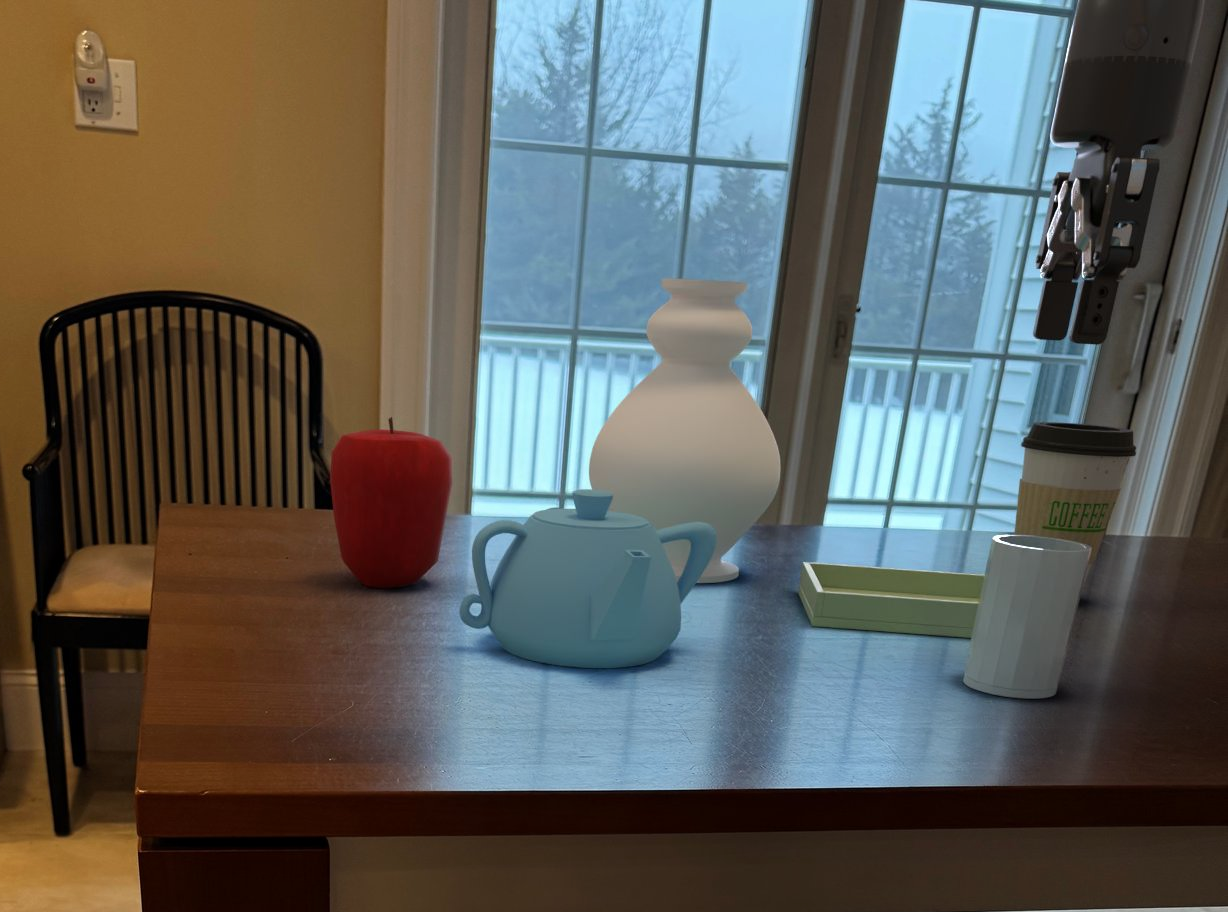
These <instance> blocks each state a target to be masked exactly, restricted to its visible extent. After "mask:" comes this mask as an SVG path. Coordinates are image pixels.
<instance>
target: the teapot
mask: <svg viewBox="0 0 1228 912" xmlns="http://www.w3.org/2000/svg"><path fill="white" fill-rule="evenodd" d="M612 498H613V494H612V493H610V492H608V491H603V490H593V489H592V488H590V489H588V488H582V489H580V488H579V489H576V490H574V491H572V500H573V504H574V508H563V507H559V506H558V507H557V506H556V507H549V508H546V509H542V510H537V511H535V512H534V513H533V514H531V515H530V516H529V517H528V518H527V520H526V521H525V522H524V524H523V523H520V522H518V521H515V520H512V519H500V520H496V521H493V522H490V523H489V524H487V525H485V526H484V527H482V528H481V529H480V530H479V531H478V533H477V534H476V536H475V538H474V539H473V543H472V546H471V547H472V549H471V563H472V567H473V574H474V579H475V583H476V587H477V590H478V594H475V593H471V594H467V595H466V596H465V597H463V599H462V601H461V603H460V606H459V616H460V620H461V621H462V623H463V624H465V625H466V626H468V627H470V628H472V629H476V630H479V629H480V630H481V629H484V628H486V627H488V629H489V630H490V632H491V633H492V635H493V636H494V637H495V639H496V640H497V641H498V643H500V645H501V646H502V648H503V649H504V650H505V651H506V652H507V653H510V654H511V655H513V656H515V657H518V658H522V659H525V660H529V661H532V662H536V663H542V664H547V665H553V666H559V667H567V668H568V667H569V668H581V669H583V668H584V669H585V668H586V669H616V668H617V669H618V668H630V667H636V666H641V665H646V664H648V663H652V662H654V661H655V660H657V659H658V658H659V657H660V656H661V655H662V654H663V653H664V652H666V650H668V648H670V646H671V645H673V643H674V642H675V641H676V639H677V638H678V636H679V634H680V632H681V626H682V608H681V607H682V603H683V602H684V600H685V599H686V598H687V597H688V595H689V594H690V592H691V591H692V590H693V588H694V587H695V585H696V584H697V583H696V582H697V581H698V579H699V578H700V576H701V575H702V573H703V572H704V570H705V569H706V567H707V565H708V563H709V561H710V559H711V557H712V555H713V552H714V549H715V545H716V539H717V535H716V531H715V529H714V528H713V526H711V525H709V524H707V523H702V522H692V523H684V524H680V525H675V526H671V527H667V528H664V529H660V530H657V531H655V530H654V528H653V526H652V525H651V523H650V522H649V521H648V520H647V519H645V518H643V517H640V516H636V515H632V514H627V513H621V512H614V511H608V508H609V506H610V504H611V501H612ZM503 534H510V535H514V536H515V537H514V538H513V539H512V541H511V543H510V544H509V546H508V547H507V549H506V551H505V552H504V554H503V556H502V557H501V559H500V561H499V563H498V565H497V567H496V569H495V572H494V574H493V576H492V579H491V582H490V581H489V576H488V571H487V565H486V548H487V546H488V542H489V541H490V540H491V539H492V538H494V537H495V536H498V535H503ZM679 539H687V540H689V541H690V543H691V549H690V554H689V557H688V560H687V563H686V565H685V568H684V570H683V573H682V574H681V576H680V578H679V580H678V582H677V581H676V577H675V574H674V571H673V569H672V566H671V563H670V561H669V559H668V556H667V554H666V552H665V550H664V548H663V545H662V543H666V542H669V541H674V540H679ZM473 604H480V606H481V608H480V613H479V614H478V615H473V614H472V613H471V611H470V609H471V607H472V605H473Z"/></svg>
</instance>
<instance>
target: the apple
mask: <svg viewBox="0 0 1228 912" xmlns="http://www.w3.org/2000/svg"><path fill="white" fill-rule="evenodd" d="M387 420H388V425H389V426H388V427H389V429H367V430H359V431H355V432H350V433H346V434H343V435H341V436H340V438H339V439H338V441H337V443H336V445H335V446H334V447H333V449H332V451H331V460H330V474H329V481H330V483H329V484H330V491H331V501H332V509H333V510H332V511H333V520H334V523H335V524H334V525H335V531H336V536H337V540H338V546H339V552H340V557H341V560H342V562H343V563H344V565H345V566H346V567H347V568H348V570H349V571H350V572H351V573H352V575H353V576H354V577H355V579H356V580H357V582H358V583H360V584H361V585H364V586H367V587H371V588H376V589H390V588H391V589H392V588H393V589H394V588H400V587H406V586H412V585H414V584H416V583H418V582H419V581H420V580H421V579H422V578H423V577H424V576H425V575H426V574H427V573H428V572H429V571H430V570H431V569H432V568H433V567H434V566H435V565H436V564H437V563H438V562H439V557H440V552H441V544H442V540H443V534H444V529H445V522H446V518H447V512H448V507H449V503H450V498H451V492H452V487H453V465H452V456H451V455H450V452H448V450H447V449H446V447H445V446H444V444H443V443H442V441H441V440H439V439H436V438H433V437H431V436H428V435H425V434H423V433H418V432H414V431H406V430H396V429H394V422H393V416H391V417H389V418H388V419H387Z"/></svg>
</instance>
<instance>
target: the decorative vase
mask: <svg viewBox="0 0 1228 912" xmlns="http://www.w3.org/2000/svg"><path fill="white" fill-rule="evenodd" d="M747 288H748V282H745V281H743V282H742V281H729V280H728V281H727V280H711V279H710V280H709V279H691V278H673V277H672V278H670V277H669V278H668V277H662V278H661V289H663V290H665V291H666V292H668V293H669V294H670V299H669V300H668V301H666V302H664V304H662V305H661V306H659V308H658V309H656V310H655V311H654V312H653V314H652V315H651V316H650V317H649V319H648V320H647V321H648V322H647V324H646V330H645V331H646V337H647V339H648V341H649V343H650V345H651V346H652V347H653V349H654V351H655V352H656V353H657V354H658V355H659V356H660V357H661V362H660V363H659V364H658V365H656V367H655V368H654V369H652V370H651V372H649V373H648V374H647V375H646V376H645V377H644V378H643V379H642V380H641V381H640V382H639V383H638V384H636V386H635V387H634V388H632V390H630V392H629V393H628V394H626V396H625V397H624V398H623V399H622V400H621V402H619V404H618V405H617V406H616V408H615V409H614V410H613V411H612V412H611V414H610V415H609V417H608V418H607V420H606V421H605V422H604V424H603V425H602V427H601V429H600V430H599V432H598V434H597V436H596V438H595V440H594V443H593V446H592V449H591V453H590V457H589V464H588V478H589V479H588V480H589V484H590V489H593V490H603V491H608V492H610V493H612V494H613V498H612V501H611V504H610V506H609V508H608V511H614V512H621V513H627V514H632V515H636V516H640V517H643V518H645V519H647V520H648V521H649V522H650V523H651V525H652V526H653V528H654V530H655V531H657V530H660V529H664V528H667V527H671V526H675V525H680V524H684V523H692V522H702V523H707V524H709V525H711V526H713V528H714V529H715V531H716V535H717V539H716V545H715V549H714V552H713V555H712V557H711V559H710V561H709V563H708V565H707V567H706V569H705V570H704V572H703V573H702V575H701V576H700V578H699V579H698V581H697V582H696V584H712V583H713V584H714V583H723V582H729V581H732V580H735V579H737V578H738V577H739V573H740V568H739V567H738V566H737V565H736V564H734V563H732V562H729V561H726V560H723V559H722V558H723V557H724V556H725V555H726V554H727V553H728V552H729V551H730V550H731V549H732V548H733V547H734V546H735V545H736V544H737V543H738V542H739V541H740V540H741V538H743V536H744V535H745V534H746V533H748V531H749V530H750V529H751V528H752V527H753V526H754V525H755V524H756V523H757V521H758V520H759V519H760V518H761V517H762V515H763V514H765V512H766V511H767V509H768V508H769V507H770V505H771V504H772V502H773V500H774V499H775V497H776V495H777V492H778V489H779V485H780V480H781V456H780V450H779V446H778V444H777V440H776V438H775V435H774V432H773V431H772V428H771V426H770V423H769V422H768V419H767V417H766V416H765V414H764V412H763V411H762V409H761V407H760V406H759V404H758V403H757V402H756V400H755V398H754V397H753V396H752V394H751V392H750V391H749V390H748V388H747V387H746V385H745V384H744V383H743V382H742V380H741V379H740V377H738V375H737V374H736V373H735V371H734V370H733V368H732V367H731V361H733V360H735V359H736V358H737V357H738V356H739V355H740V354H741V353H743V351H745V349H746V348H747V347H748V346H749V345H750V343H751V341H752V337H753V326H752V323H751V321H750V318H749V317H748V316H747V314H746V313H745V312H744V311H743V309H741V308H740V307H739V306H738V305H737V304H736V303H735V301H736V298H737V297H739V296H741V295H743V294H745V293H747ZM662 545H663V548H664V550H665V552H666V554H667V556H668V559H669V561H670V563H671V566H672V569H673V571H674V574H675V577H676V581H677V582H678V580H679V578H680V576H681V574H682V573H683V570H684V568H685V565H686V563H687V560H688V557H689V554H690V549H691V543H690V541H689V540H687V539H679V540H674V541H669V542H666V543H662Z"/></svg>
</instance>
